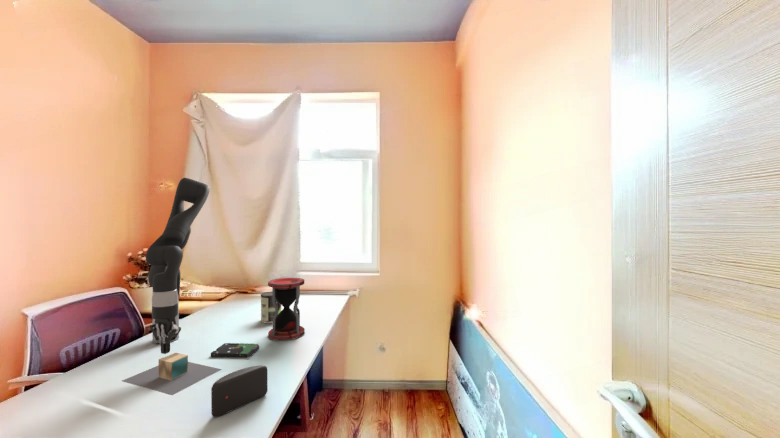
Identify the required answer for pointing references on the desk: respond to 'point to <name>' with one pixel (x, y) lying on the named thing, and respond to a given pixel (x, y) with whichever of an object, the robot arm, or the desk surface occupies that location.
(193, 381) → the rubber mat
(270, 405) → the desk surface
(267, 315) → the coffee can
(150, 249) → the robot arm
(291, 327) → the hourglass
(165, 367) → the oak cube
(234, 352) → the disk drive
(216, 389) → the leaning round-cornered charcoal block
